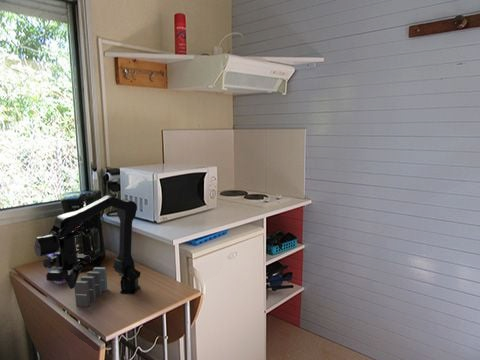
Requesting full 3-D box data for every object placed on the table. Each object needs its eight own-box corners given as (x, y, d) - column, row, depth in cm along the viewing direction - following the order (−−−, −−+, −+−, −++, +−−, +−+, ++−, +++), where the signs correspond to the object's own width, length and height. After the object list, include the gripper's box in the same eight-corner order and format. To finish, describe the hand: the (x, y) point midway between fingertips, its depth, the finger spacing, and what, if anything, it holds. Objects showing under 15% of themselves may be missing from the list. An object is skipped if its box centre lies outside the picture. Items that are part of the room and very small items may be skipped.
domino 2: (96, 299, 144) (94, 276, 142) (94, 301, 142) (92, 278, 141) (85, 298, 144) (83, 275, 143) (82, 300, 143) (80, 277, 141)
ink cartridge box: (48, 279, 164) (45, 249, 161) (60, 275, 168) (57, 246, 166) (57, 285, 157) (54, 254, 155) (69, 281, 161) (67, 251, 159)
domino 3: (102, 294, 148) (100, 271, 147) (100, 296, 147) (98, 273, 145) (91, 293, 149) (89, 271, 147) (89, 295, 147) (87, 272, 146)
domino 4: (107, 289, 153) (105, 267, 151) (105, 291, 151) (103, 269, 149) (97, 288, 153) (95, 267, 152) (94, 290, 152) (93, 268, 150)
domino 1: (90, 304, 139) (88, 281, 138) (87, 306, 138) (85, 283, 136) (78, 304, 140) (76, 280, 139) (76, 306, 138) (73, 282, 137)
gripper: (64, 240, 139) (67, 276, 142) (29, 257, 121) (34, 299, 124) (89, 240, 138) (93, 278, 140) (59, 258, 120) (63, 301, 122)
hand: (71, 288), depth 132 cm, fingers closed
